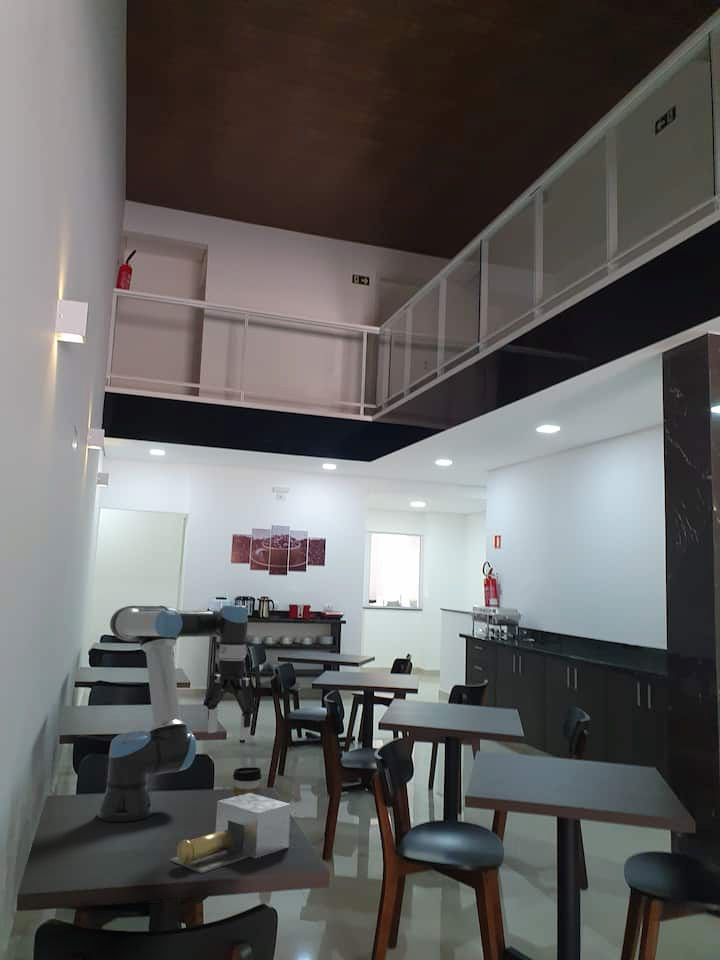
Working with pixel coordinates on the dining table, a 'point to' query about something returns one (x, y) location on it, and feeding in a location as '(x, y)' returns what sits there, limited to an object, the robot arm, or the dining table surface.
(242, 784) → the coffee cup
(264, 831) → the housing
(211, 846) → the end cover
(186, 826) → the dining table surface
